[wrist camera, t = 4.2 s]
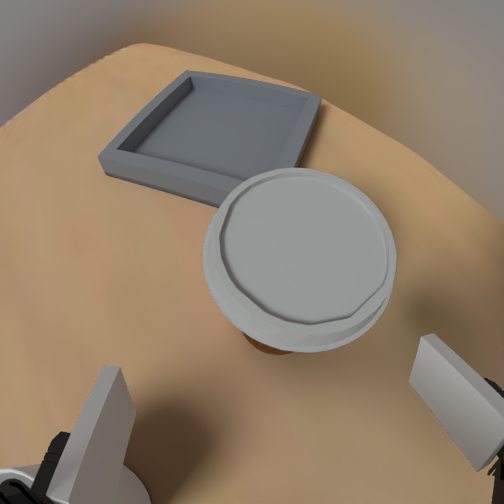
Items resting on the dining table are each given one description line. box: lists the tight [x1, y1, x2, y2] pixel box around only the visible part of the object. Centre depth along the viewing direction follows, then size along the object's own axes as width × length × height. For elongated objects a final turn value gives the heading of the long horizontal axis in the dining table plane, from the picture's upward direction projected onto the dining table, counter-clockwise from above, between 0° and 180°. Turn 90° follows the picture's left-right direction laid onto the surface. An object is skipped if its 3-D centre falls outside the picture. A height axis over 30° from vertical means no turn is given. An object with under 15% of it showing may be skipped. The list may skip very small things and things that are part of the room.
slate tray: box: [98, 70, 322, 208], centre depth 32 cm, size 20×20×3 cm
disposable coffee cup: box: [202, 168, 397, 355], centre depth 18 cm, size 10×10×12 cm
